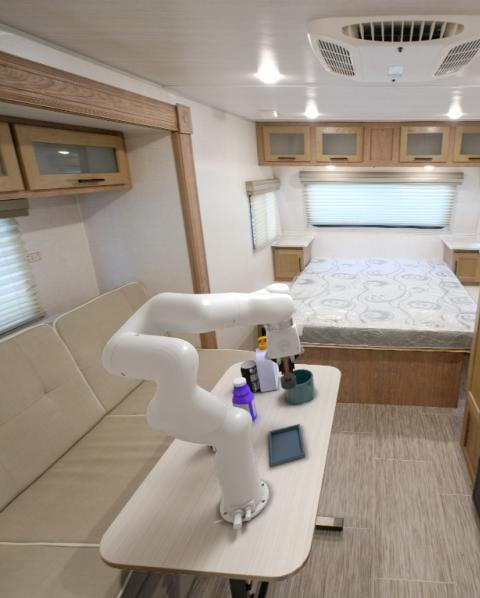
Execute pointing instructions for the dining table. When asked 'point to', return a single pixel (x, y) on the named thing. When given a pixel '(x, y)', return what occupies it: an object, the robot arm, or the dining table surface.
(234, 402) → the bottle
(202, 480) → the dining table surface
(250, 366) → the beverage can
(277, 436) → the dish
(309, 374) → the canister
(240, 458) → the robot arm
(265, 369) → the soap bottle
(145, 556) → the dining table surface
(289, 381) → the scrub brush
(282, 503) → the dining table surface
